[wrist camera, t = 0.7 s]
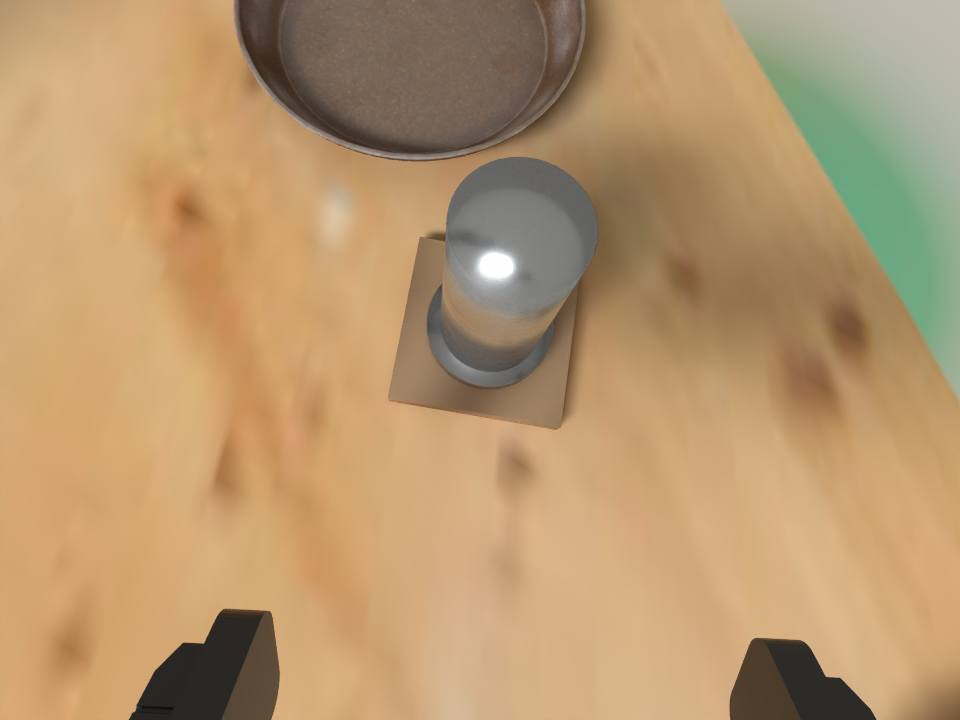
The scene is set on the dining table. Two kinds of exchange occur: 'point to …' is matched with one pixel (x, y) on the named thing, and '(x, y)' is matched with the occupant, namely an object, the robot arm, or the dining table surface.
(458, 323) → the metal cylinder canister
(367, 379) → the dining table surface
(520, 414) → the stand
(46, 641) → the dining table surface
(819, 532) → the dining table surface
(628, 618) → the dining table surface
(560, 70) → the brown shallow round tray
